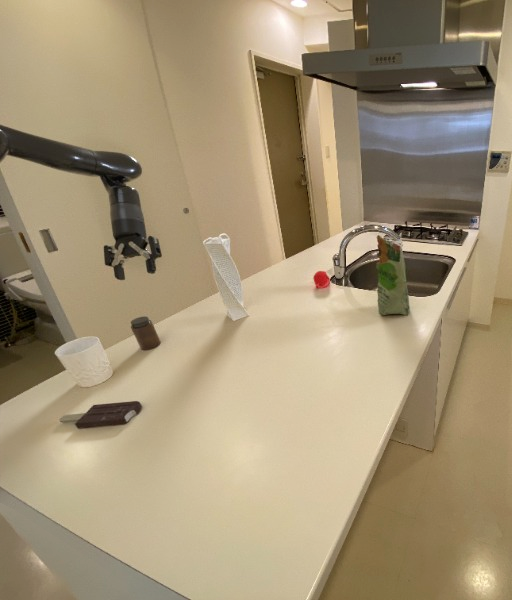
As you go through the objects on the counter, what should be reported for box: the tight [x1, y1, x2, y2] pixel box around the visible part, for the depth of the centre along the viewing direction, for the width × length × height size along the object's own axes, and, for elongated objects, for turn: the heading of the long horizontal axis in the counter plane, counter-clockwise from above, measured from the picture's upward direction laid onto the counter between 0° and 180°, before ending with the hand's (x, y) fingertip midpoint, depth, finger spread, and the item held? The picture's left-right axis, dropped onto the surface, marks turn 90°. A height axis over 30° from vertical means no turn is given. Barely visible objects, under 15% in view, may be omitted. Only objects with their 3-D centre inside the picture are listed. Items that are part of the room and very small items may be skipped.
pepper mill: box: [130, 316, 162, 351], centre depth 92 cm, size 5×5×8 cm
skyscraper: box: [202, 232, 250, 322], centre depth 101 cm, size 8×8×28 cm
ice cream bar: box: [58, 400, 143, 430], centre depth 69 cm, size 5×2×15 cm
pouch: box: [376, 234, 411, 316], centre depth 103 cm, size 11×12×25 cm
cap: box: [312, 270, 331, 290], centre depth 126 cm, size 8×6×6 cm
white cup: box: [54, 335, 114, 388], centre depth 79 cm, size 8×8×10 cm
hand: (136, 276), depth 92 cm, fingers open, 8 cm apart
